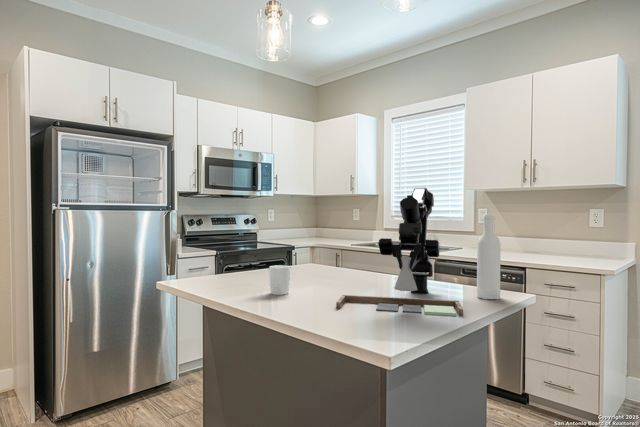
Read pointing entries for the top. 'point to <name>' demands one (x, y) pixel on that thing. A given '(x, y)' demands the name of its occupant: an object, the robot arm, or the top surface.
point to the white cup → (279, 279)
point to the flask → (405, 277)
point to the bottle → (488, 261)
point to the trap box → (399, 303)
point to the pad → (439, 310)
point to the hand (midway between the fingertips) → (405, 268)
